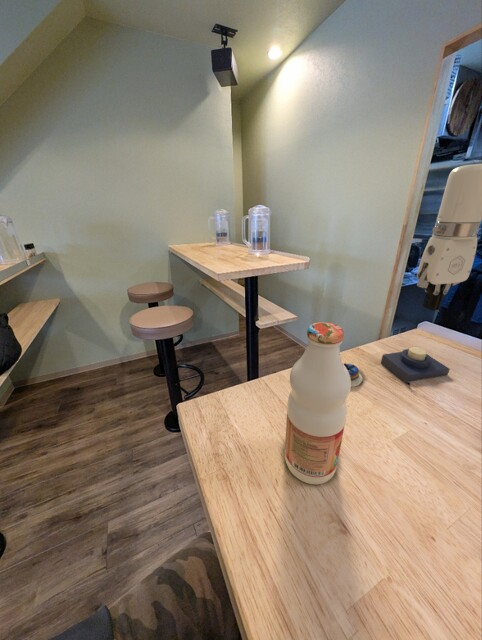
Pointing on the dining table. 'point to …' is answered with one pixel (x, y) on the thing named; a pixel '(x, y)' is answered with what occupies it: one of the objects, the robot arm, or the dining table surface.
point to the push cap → (417, 353)
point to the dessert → (354, 374)
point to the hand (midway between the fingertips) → (430, 308)
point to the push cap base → (413, 367)
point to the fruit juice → (317, 406)
